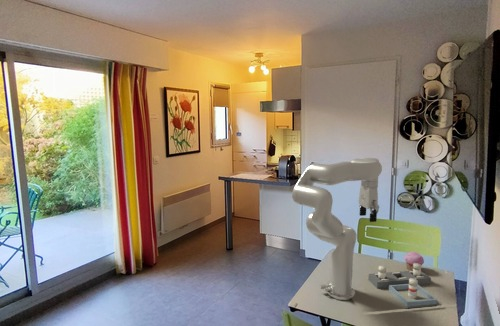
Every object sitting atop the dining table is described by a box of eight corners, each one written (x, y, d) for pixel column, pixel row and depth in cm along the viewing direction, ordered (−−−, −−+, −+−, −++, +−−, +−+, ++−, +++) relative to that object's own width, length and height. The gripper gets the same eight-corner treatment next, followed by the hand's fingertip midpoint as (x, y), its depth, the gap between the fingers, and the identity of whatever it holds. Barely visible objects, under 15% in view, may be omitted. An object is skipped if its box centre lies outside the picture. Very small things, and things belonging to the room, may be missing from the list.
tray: (407, 308, 134) (407, 302, 133) (388, 291, 147) (388, 285, 146) (436, 306, 135) (437, 299, 135) (415, 289, 149) (416, 283, 148)
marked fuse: (411, 299, 139) (412, 282, 138) (405, 295, 142) (407, 278, 141) (418, 299, 140) (419, 281, 138) (412, 294, 143) (414, 278, 142)
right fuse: (415, 282, 153) (416, 266, 152) (410, 278, 156) (411, 263, 155) (421, 281, 153) (423, 266, 152) (417, 278, 157) (418, 262, 156)
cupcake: (413, 266, 172) (414, 248, 170) (427, 273, 163) (428, 255, 162) (400, 268, 169) (401, 250, 167) (413, 276, 161) (414, 257, 159)
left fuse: (380, 285, 150) (381, 269, 149) (376, 281, 154) (377, 265, 153) (386, 284, 151) (387, 268, 150) (382, 281, 154) (383, 265, 153)
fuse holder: (377, 290, 148) (377, 281, 147) (368, 281, 156) (368, 273, 155) (430, 285, 152) (430, 277, 151) (419, 277, 160) (419, 269, 159)
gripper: (353, 180, 161) (352, 213, 164) (371, 188, 144) (369, 224, 147) (367, 180, 162) (366, 212, 165) (386, 187, 146) (384, 223, 148)
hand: (367, 218), depth 156 cm, fingers open, 9 cm apart
